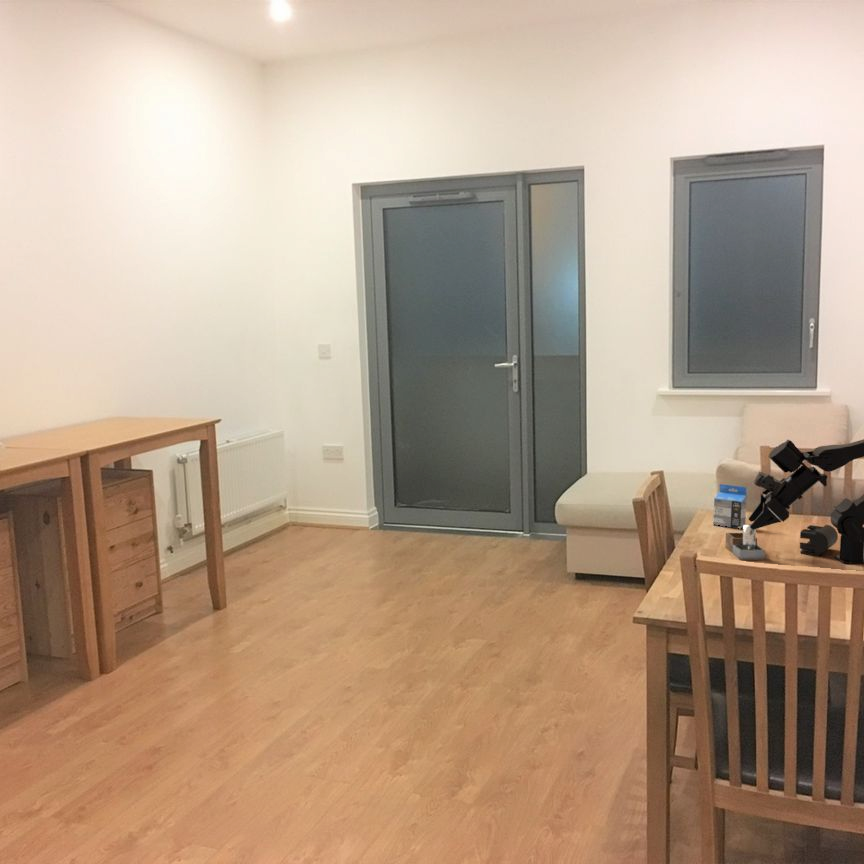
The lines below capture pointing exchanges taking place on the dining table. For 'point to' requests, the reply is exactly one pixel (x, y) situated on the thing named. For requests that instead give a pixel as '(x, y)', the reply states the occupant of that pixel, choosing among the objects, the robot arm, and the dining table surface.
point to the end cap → (818, 539)
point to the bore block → (734, 540)
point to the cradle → (748, 552)
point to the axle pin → (749, 537)
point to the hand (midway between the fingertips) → (750, 524)
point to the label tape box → (730, 506)
